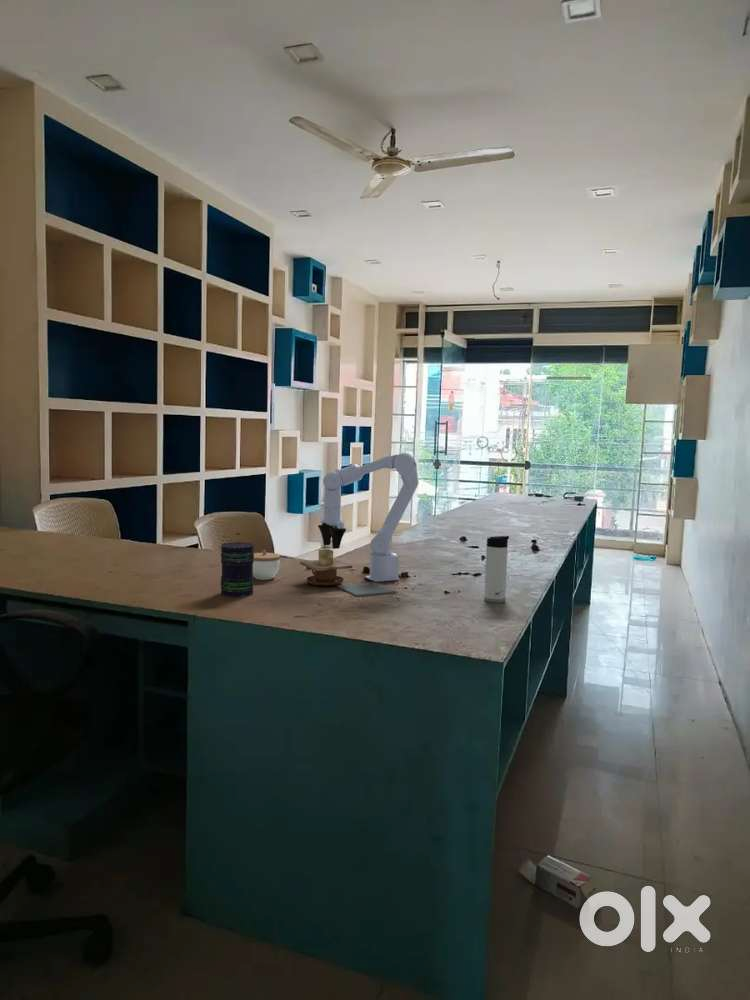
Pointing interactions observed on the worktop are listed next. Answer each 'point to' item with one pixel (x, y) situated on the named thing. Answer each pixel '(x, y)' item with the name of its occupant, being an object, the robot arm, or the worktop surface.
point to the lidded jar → (265, 565)
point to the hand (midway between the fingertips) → (331, 546)
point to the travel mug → (496, 569)
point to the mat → (366, 589)
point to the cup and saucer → (325, 578)
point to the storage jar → (237, 569)
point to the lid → (325, 562)
